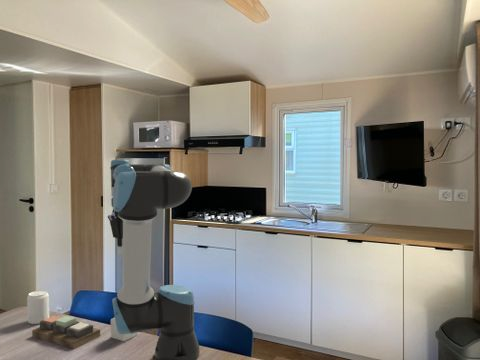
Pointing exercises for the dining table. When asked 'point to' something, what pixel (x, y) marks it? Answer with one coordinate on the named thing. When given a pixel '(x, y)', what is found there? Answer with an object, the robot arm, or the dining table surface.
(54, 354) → the dining table surface
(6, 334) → the dining table surface
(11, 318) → the dining table surface
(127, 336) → the medicine bottle
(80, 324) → the cream button
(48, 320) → the terracotta button
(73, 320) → the sage button
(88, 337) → the button panel
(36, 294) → the white canister
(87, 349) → the dining table surface
